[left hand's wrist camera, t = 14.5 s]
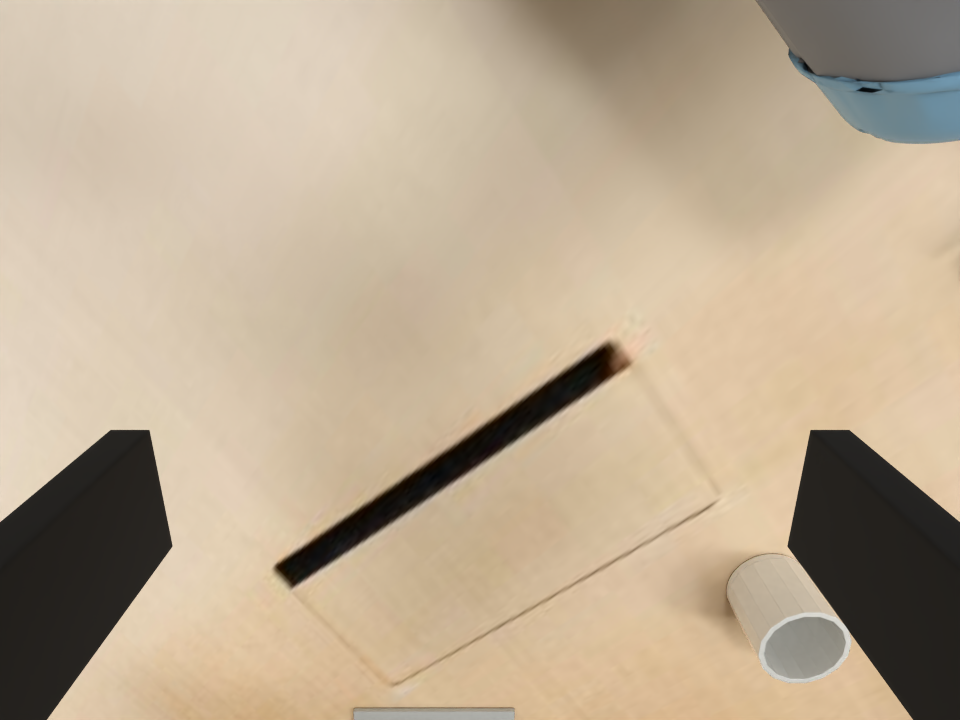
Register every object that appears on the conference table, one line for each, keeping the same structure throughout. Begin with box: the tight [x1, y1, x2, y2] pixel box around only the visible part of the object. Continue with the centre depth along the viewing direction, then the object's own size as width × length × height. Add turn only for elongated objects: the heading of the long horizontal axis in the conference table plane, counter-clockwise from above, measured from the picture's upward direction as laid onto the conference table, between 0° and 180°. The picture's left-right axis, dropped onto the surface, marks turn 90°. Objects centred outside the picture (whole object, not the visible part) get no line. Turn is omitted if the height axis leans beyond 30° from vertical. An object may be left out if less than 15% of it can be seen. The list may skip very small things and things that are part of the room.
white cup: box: [727, 554, 851, 683], centre depth 48 cm, size 6×6×6 cm
